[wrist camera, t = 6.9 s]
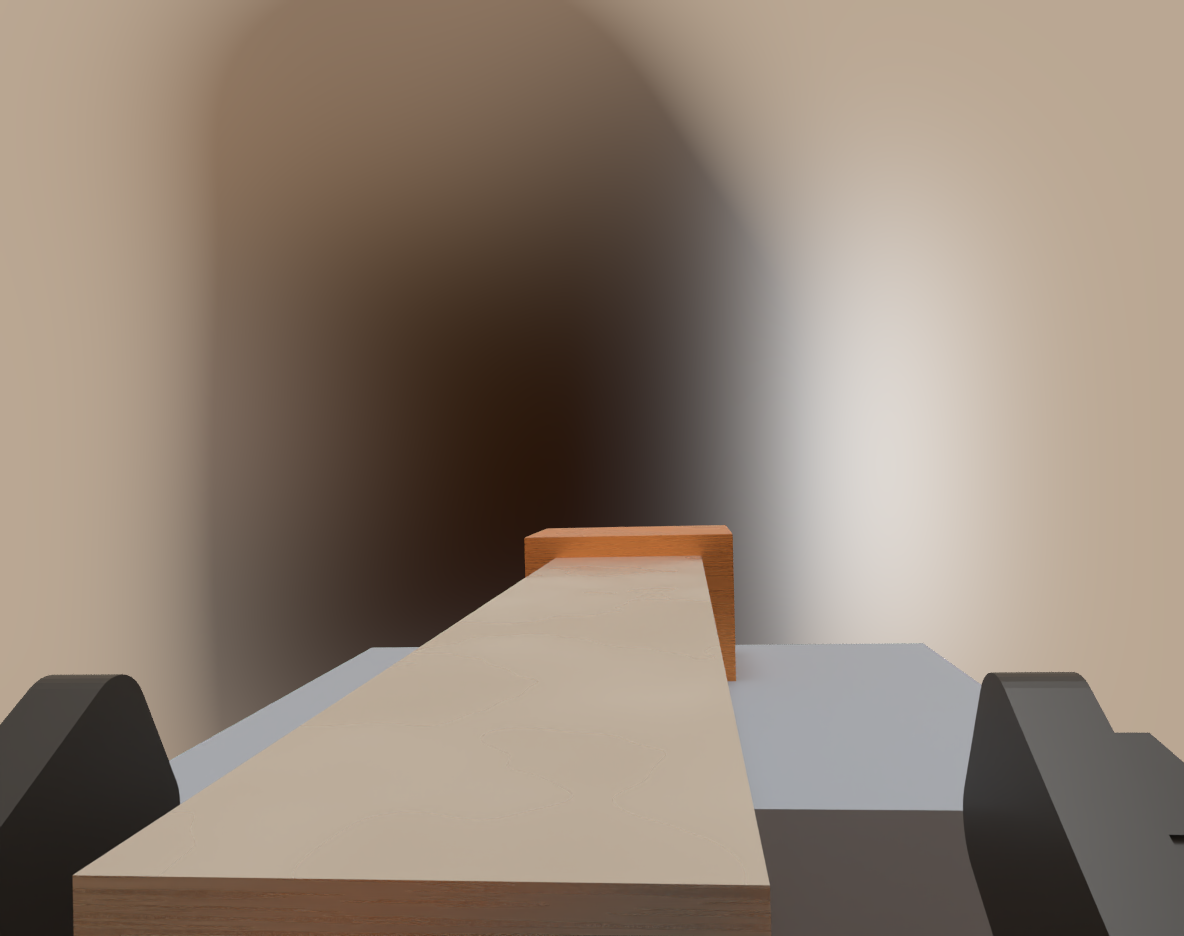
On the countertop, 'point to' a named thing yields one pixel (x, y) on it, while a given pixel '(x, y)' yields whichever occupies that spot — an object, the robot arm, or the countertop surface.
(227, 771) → the breaker cabinet
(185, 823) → the bar
